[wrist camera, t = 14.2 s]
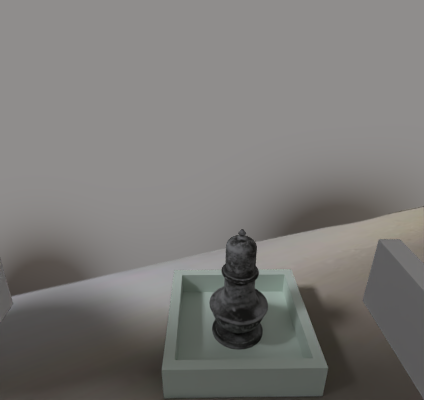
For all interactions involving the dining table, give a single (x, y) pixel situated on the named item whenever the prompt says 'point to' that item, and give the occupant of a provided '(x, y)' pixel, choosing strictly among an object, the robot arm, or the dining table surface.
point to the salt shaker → (239, 297)
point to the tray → (245, 358)
